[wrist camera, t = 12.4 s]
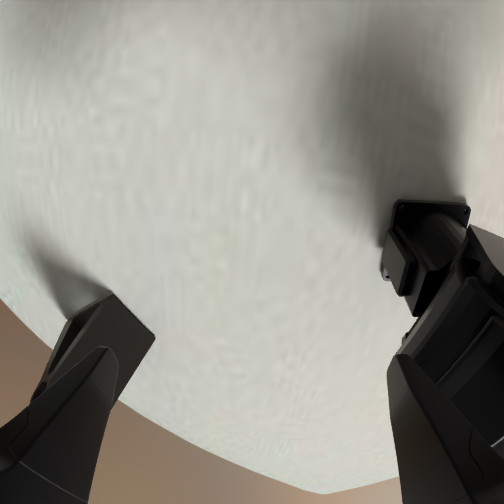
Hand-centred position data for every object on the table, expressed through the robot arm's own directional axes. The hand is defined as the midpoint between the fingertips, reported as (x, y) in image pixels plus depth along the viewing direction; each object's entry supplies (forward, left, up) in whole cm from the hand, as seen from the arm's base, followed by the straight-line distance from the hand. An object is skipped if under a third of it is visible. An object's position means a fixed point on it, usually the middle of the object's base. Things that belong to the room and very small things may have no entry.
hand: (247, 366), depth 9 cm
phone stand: (+16, +13, -13) cm, 25 cm away
